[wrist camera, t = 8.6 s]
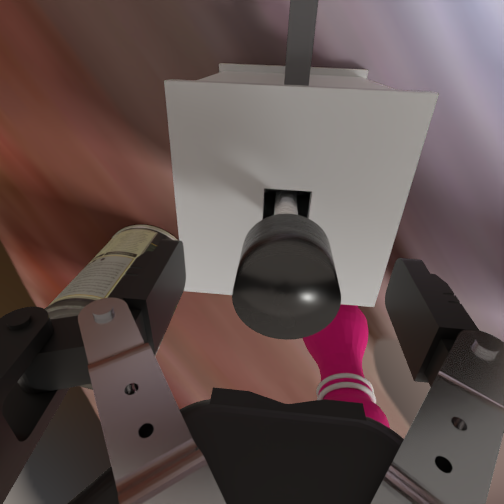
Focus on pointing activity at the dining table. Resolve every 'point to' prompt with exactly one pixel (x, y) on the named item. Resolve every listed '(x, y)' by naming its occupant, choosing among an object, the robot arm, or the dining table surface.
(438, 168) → the dining table surface
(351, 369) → the pepper mill
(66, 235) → the dining table surface
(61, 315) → the coffee can
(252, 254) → the grey thin rod
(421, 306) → the robot arm
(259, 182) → the white cabinet
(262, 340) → the dining table surface
